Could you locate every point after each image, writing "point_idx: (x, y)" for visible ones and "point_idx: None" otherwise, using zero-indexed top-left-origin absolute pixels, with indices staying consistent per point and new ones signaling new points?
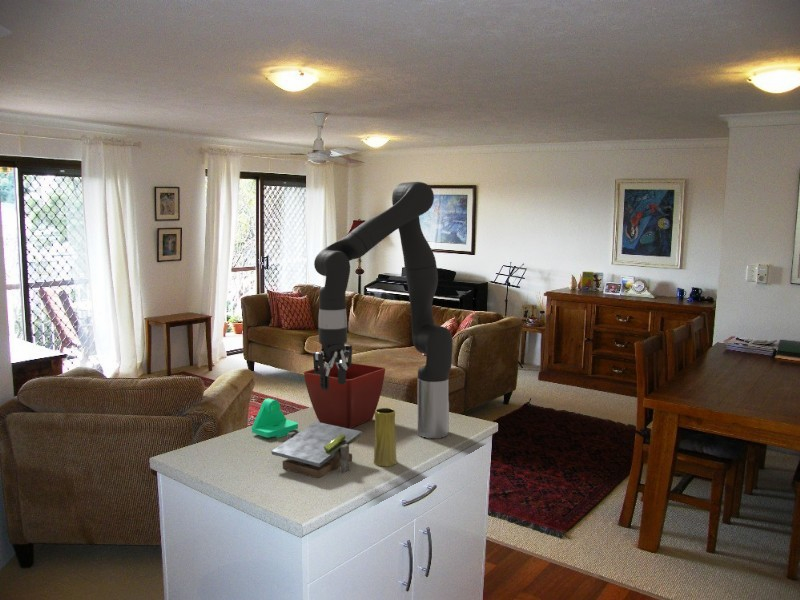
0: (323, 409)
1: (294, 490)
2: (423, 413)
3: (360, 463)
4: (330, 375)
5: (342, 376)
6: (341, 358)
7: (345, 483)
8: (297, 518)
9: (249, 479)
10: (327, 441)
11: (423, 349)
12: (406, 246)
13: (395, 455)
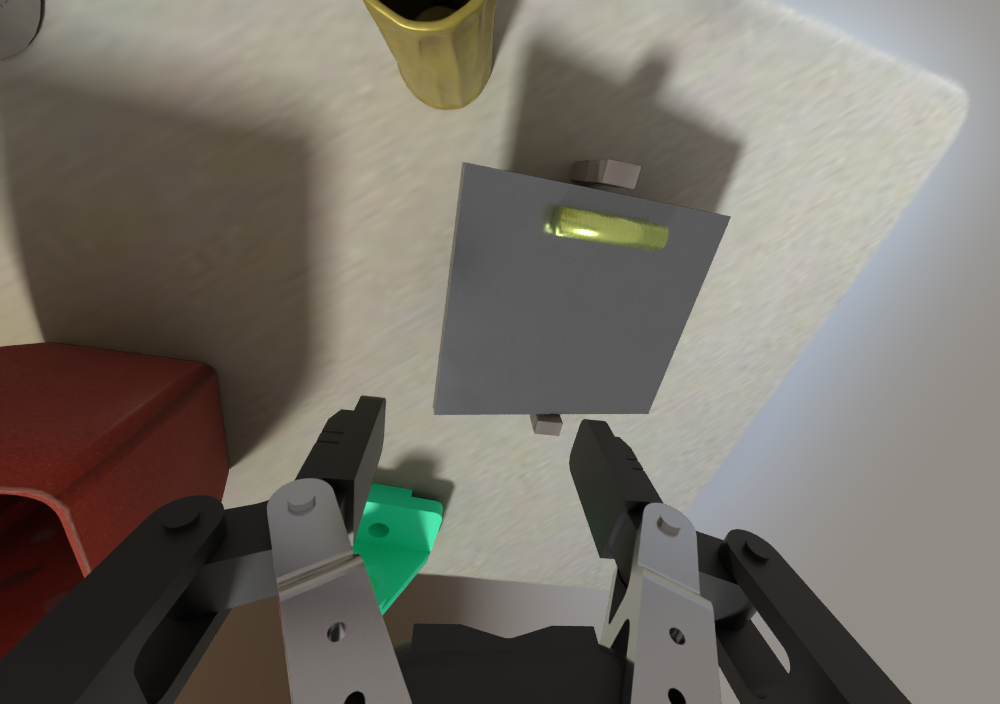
0: (208, 489)
1: (754, 250)
2: None
3: (493, 157)
4: None
5: (369, 452)
6: (405, 684)
7: (681, 118)
8: (944, 134)
9: (699, 392)
10: (577, 278)
11: None
12: None
13: None
